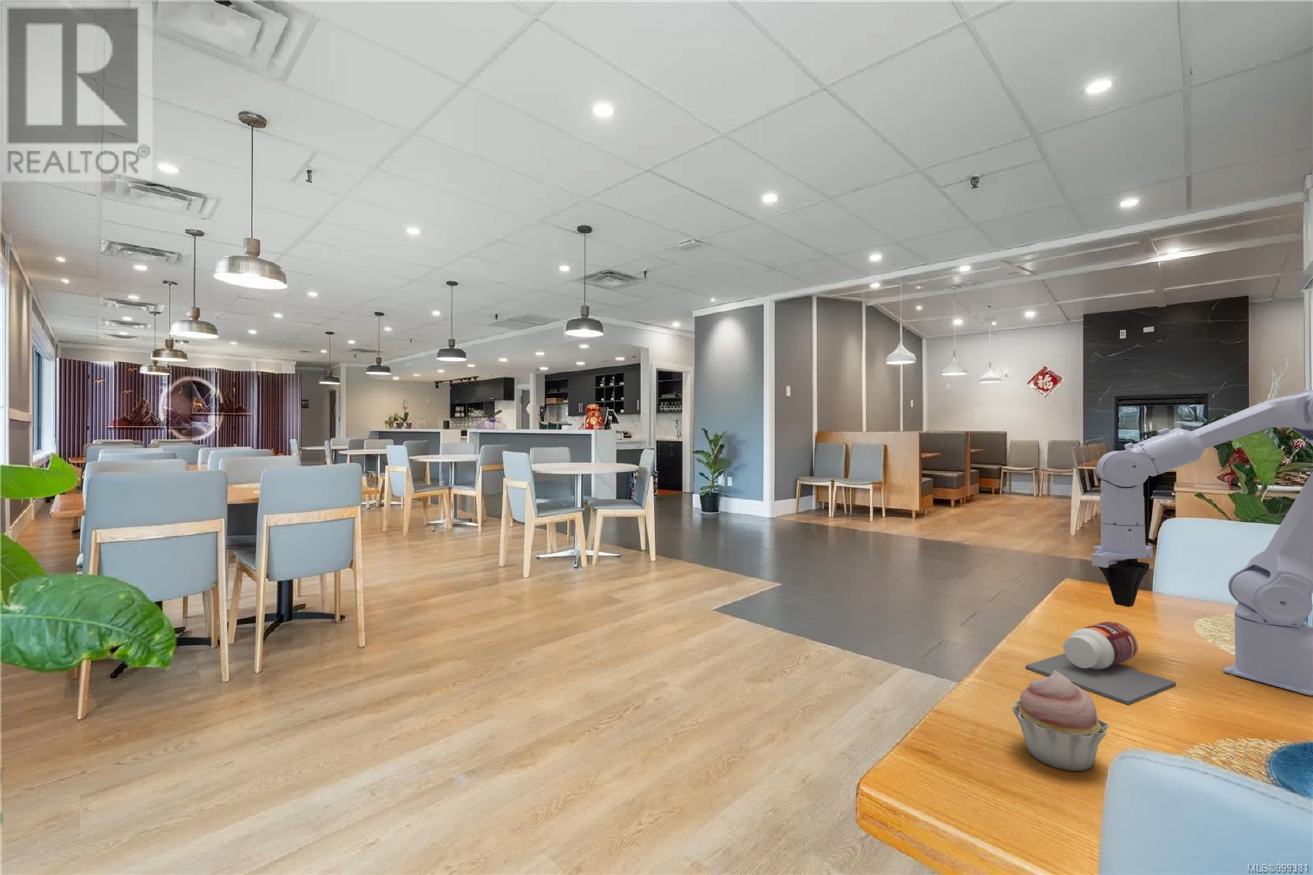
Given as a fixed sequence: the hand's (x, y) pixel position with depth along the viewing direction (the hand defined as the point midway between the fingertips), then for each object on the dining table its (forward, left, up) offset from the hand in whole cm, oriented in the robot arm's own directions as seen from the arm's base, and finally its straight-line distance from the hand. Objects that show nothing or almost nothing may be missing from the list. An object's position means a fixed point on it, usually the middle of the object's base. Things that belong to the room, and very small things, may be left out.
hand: (1124, 605), depth 95 cm
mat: (-2, +12, -9) cm, 15 cm away
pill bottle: (0, +3, -5) cm, 6 cm away
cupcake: (-12, +40, -9) cm, 42 cm away
